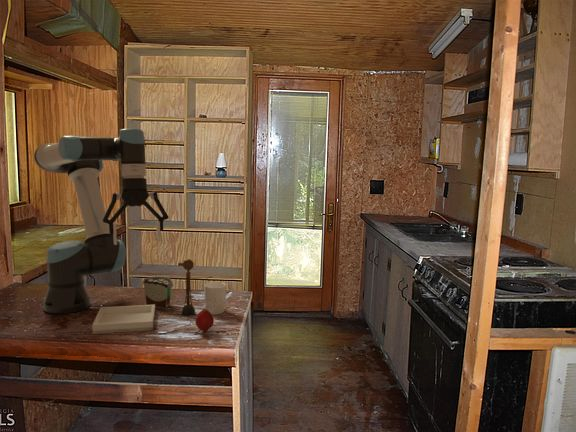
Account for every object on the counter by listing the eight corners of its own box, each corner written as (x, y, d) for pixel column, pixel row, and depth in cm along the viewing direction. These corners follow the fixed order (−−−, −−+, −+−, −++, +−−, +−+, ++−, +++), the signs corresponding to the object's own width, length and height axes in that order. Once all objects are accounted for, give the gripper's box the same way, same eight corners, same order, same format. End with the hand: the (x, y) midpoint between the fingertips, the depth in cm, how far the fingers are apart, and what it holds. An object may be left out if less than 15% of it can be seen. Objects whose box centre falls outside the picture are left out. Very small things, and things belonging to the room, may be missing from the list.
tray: (92, 334, 139) (92, 324, 139) (100, 315, 154) (100, 307, 154) (152, 330, 143) (152, 321, 143) (155, 312, 159) (155, 304, 158)
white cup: (221, 316, 157) (221, 288, 156) (200, 313, 159) (200, 286, 157) (229, 308, 165) (229, 282, 164) (208, 306, 166) (209, 280, 165)
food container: (180, 305, 167) (180, 279, 166) (169, 310, 162) (169, 283, 160) (154, 299, 172) (154, 274, 171) (143, 304, 167) (142, 278, 165)
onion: (196, 328, 146) (196, 304, 145) (214, 328, 147) (214, 304, 146) (194, 335, 140) (194, 311, 139) (212, 335, 141) (212, 311, 140)
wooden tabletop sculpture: (176, 315, 157) (176, 260, 154) (181, 310, 161) (181, 256, 158) (192, 316, 156) (192, 261, 153) (197, 312, 160) (197, 257, 158)
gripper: (92, 178, 136) (96, 247, 137) (175, 176, 146) (178, 240, 148) (91, 178, 142) (95, 244, 144) (171, 176, 153) (174, 238, 155)
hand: (137, 242), depth 146 cm, fingers open, 13 cm apart
